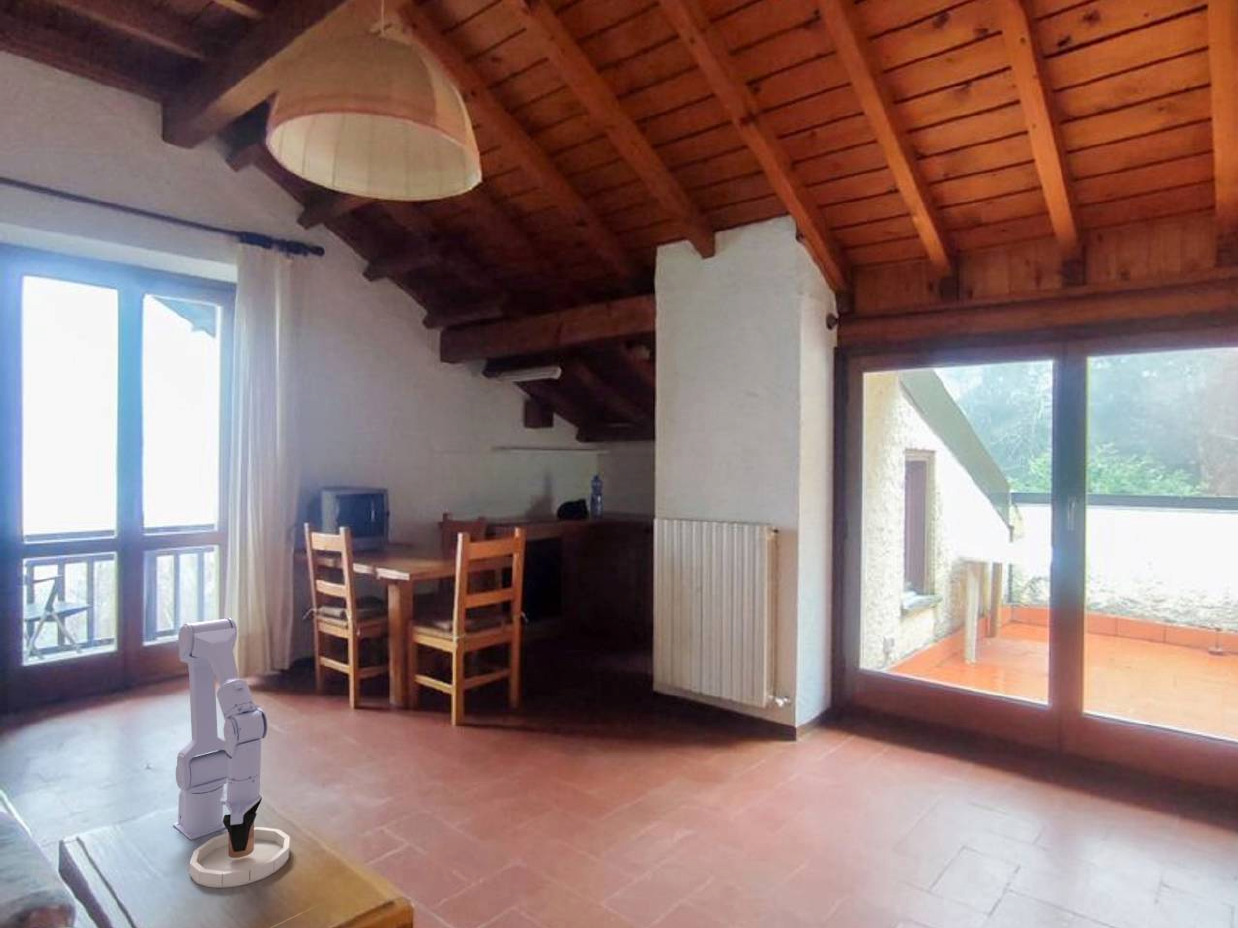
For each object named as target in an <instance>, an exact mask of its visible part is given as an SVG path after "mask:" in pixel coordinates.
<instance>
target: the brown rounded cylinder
mask: <svg viewBox="0 0 1238 928" xmlns="http://www.w3.org/2000/svg"><path fill="white" fill-rule="evenodd" d="M254 828H255V821H254V822H253V823H252V825H251V829H250V833H249V838H248V843H247V847H246V850H245V851H239V852H233V849H232V844H231V839H230V835H229V838H228V855H229V857H232V858H240V857H244V856H247V855H249V854H250V853H252V852H253V850H254Z"/></svg>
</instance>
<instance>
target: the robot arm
mask: <svg viewBox="0 0 1238 928" xmlns="http://www.w3.org/2000/svg"><path fill="white" fill-rule="evenodd" d="M177 637H178V640H177V641H178V655H179V662H182V663H186V664H187V668H188V678H189V700H190V702H189V704H190V724H191V725H190V726H191V729H190V731H191V741H189V742H188V743H187V744H186V745H185V746H184V747H183V748H182V749H181V750H179V752H178V754H177V757H176V760H177V761H176V767H175V782H176V784H177V787H178V789H180V791H179V795H178V808H177V809H178V812H177V814H178V816H177V821H175V822H174V823H173V824H172V826H173V827H174V828H175V829H177V830H178V831H179V832H180V833H182V834H183V835H184V836H185V837H186V838H188V839H189V840H192V841H193V840H195V839H198V838H201V837H204V836H207V835H209V834H212V833H215V832H218V831H221V830H224V829H226V830H227V833H229V835H230V839H231V844H232V849H233V852H239V851H245V850H246V847H247V843H248V838H249V833H250V829H251V825H252V823H253V822H254V823H255V819H256V818H257V813H256V812H257V811H258V808H259V807H260V804H261V803H262V796H261V795H262V794H261V791H260V790H261V787H260V786H261V766H262V765H261V763H262V757H261V756H262V740H261V739H265V738H266V736H267V733H268V718H267V715H266V712H265V710H264V709H262V707H261V706H260V705H259V704H256V703H255V701H254V697H253V695H252V693H251V690H250V687H249V684H248V682H247V681H246V680H244V679H242V678H240V676H239V672H238V668H237V664H236V659H235V656H234V651H233V650H234V648H235V645H236V641H237V639H238V629H237V624H236V622H235V620H233V618H231V617H226V618H221V619H212V620H205V621H198V622H186V623H185V622H184V623H183V624H182V626H181V627H180V629H179V632H178V636H177ZM216 681H217V682H218V684H219V688H218V689H217V690H216ZM217 700H218V703H219V707H220V709H221V712H222V716H223V718H224V725H223V738H224V739H223V738H221V737H220V736H219V735H218V715H217V714H218V713H217ZM225 785H226V787H227V788H226V796H224V786H225ZM224 805H225V806H226V807H227V810H228V812H229V814H224ZM223 815H224V816H223Z"/></svg>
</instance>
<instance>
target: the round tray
mask: <svg viewBox="0 0 1238 928" xmlns="http://www.w3.org/2000/svg"><path fill="white" fill-rule="evenodd" d="M228 838H229V833H228V832H225V833H223V834H221V835H217V836H215V837H211V838H210V839H208V840H207V841H206V842H204V843H202V844H201V845H200V846H199V847H197V848H196V849H194V850H193V851H192V855H191V857H190V861H189V870H188V871H189V873H188V874H189V875H190V877H191V879H192V881H194V882H195V883H196V884H198V885H199V886H203V887H206V888H214V889H217V888H218V889H222V888H223V889H224V888H225V889H227V888H235V887H241V886H245V885H248V884H251V883H255V882H258V881H261V880H264V879H265V878H268V877H269V876H271V875H273V874H275V873H276V872H278V871H279V870H280V869H281V868H283V866H284V865H285V864H286V863H287V862H288V860H289V857H290V848H291V837H290V835H288V834H287V833H286V832H284V831H282V830H281V829H280V828H271V827H263V826H259V827H258V826H254V850H253V852H252V853H250V854H249V855H247V856H244V857H240V858H232V857H229V855H228Z"/></svg>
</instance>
